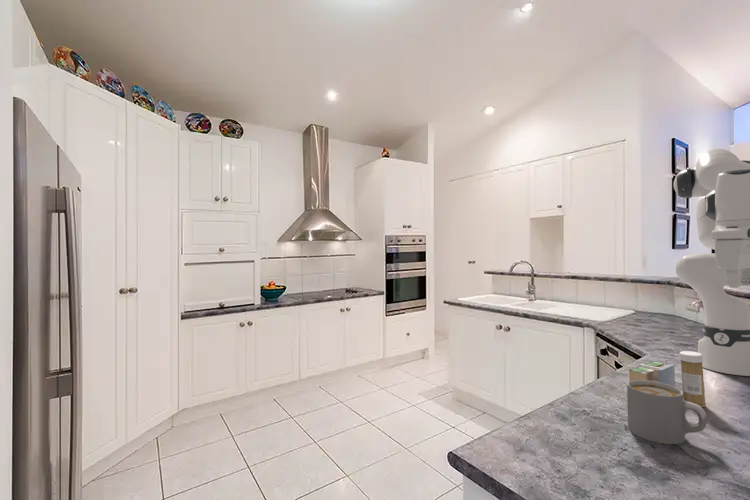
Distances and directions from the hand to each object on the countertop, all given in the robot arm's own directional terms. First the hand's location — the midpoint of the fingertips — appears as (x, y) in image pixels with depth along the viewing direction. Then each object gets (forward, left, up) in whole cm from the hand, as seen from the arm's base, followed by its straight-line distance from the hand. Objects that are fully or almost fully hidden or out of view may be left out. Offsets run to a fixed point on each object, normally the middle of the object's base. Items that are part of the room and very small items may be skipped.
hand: (740, 286), depth 92 cm
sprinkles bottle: (+8, -8, -31) cm, 33 cm away
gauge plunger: (+8, -15, -31) cm, 35 cm away
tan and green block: (+8, -17, -31) cm, 36 cm away
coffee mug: (+33, -5, -31) cm, 46 cm away
